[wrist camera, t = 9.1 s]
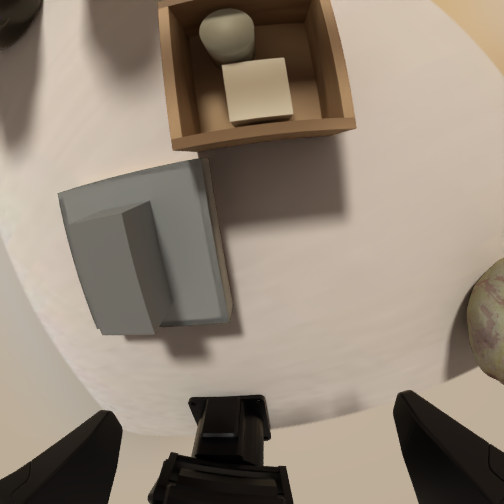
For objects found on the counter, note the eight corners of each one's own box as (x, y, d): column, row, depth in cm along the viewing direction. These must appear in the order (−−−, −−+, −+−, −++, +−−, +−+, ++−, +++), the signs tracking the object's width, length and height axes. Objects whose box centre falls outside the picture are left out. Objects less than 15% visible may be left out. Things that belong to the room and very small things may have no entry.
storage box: (330, 135, 16) (356, 128, 11) (196, 151, 17) (172, 150, 12) (309, 19, 14) (324, -19, 9) (182, 35, 14) (157, 2, 9)
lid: (232, 304, 19) (222, 359, 14) (110, 312, 20) (73, 357, 14) (208, 157, 16) (182, 158, 11) (77, 188, 17) (20, 203, 12)
